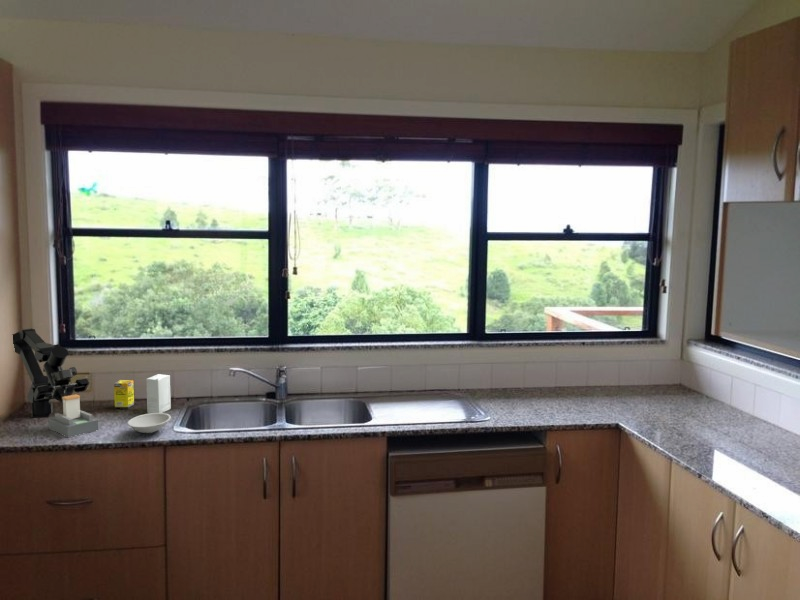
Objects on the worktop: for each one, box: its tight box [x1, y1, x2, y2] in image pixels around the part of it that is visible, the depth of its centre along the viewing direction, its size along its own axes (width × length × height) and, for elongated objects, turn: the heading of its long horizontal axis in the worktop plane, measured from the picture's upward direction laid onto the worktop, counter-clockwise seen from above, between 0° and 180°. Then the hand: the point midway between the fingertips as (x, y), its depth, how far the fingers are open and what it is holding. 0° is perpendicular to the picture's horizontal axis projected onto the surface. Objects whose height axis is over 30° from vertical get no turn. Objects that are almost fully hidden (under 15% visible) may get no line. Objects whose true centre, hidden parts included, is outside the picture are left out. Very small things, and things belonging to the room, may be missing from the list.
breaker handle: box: [62, 394, 81, 419], centre depth 240 cm, size 3×5×8 cm, turn 141°
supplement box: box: [113, 379, 135, 410], centre depth 270 cm, size 6×6×11 cm
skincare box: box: [145, 373, 172, 414], centre depth 264 cm, size 8×6×15 cm
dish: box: [127, 412, 172, 434], centre depth 237 cm, size 18×14×5 cm
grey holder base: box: [48, 409, 99, 438], centre depth 240 cm, size 16×11×6 cm
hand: (69, 406), depth 241 cm, fingers closed, pressing on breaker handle
